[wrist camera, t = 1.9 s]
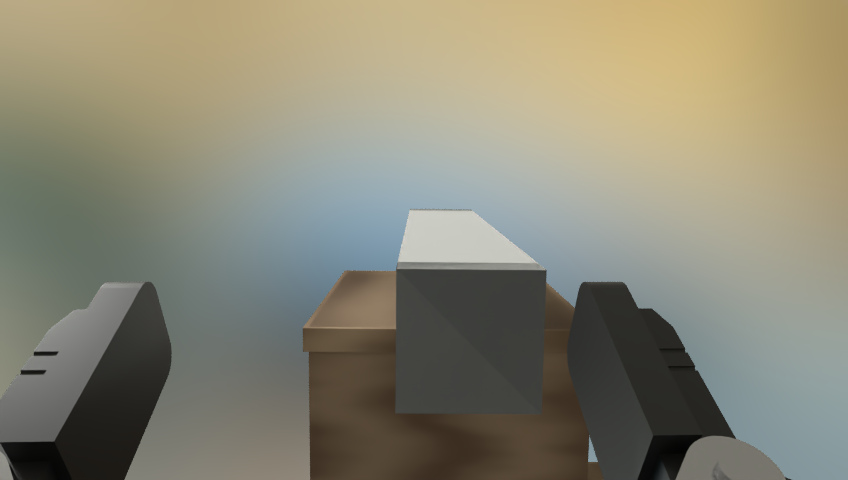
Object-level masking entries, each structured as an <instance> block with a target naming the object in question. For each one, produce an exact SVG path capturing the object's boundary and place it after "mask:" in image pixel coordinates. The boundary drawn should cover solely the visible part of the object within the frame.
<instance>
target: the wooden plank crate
mask: <svg viewBox="0 0 848 480" xmlns="http://www.w3.org/2000/svg"><path fill="white" fill-rule="evenodd" d="M574 310H575V308H574V307H573V306H572V305H571V304H570V303H569V302H567V301H566V300H565V299H564V298H563V297H562V296H561V295H560V294H559V293H557V292H556V291H555V290H554V289H553V288H552V287H551V286H549V284H547V283H546V300H545V329H544V358H543V387H542V414H417V413H395V399H396V271H344V273H343V274H342V276H341V277H340V278H339V279H338V281H337V282H336V284H335V285H334V286H333V288H332V289H331V290H330V292H329V293H328V295H327V296H326V297H325V299H324V300H323V301H322V303H321V304H320V305H319V307H318V308H317V310H316V311H315V312H314V314H313V315H312V316H311V318H310V319H309V320H308V322H307V323H306V325H305V326H304V327H303V351H305V352H309V407H310V480H604V479H603V475H602V472H601V469H600V466H599V463H598V462H588V449H589V432H588V429H587V426H586V423H585V420H584V417H583V413H582V410H581V407H580V404H579V401H578V398H577V395H576V392H575V389H574V385H573V382H572V379H571V376H570V373H569V368H568V360H567V345H568V339H569V334H570V329H571V325H572V320H573V315H574Z"/></svg>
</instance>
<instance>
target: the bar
mask: <svg viewBox="0 0 848 480" xmlns="http://www.w3.org/2000/svg"><path fill="white" fill-rule="evenodd" d="M545 300H546V269H544V268H543V267H542V266H541V265H539V264H538V263H537V262H536V261H534V260H533V259H532V258H531V257H529V256H528V255H527V254H526V253H524V252H523V251H522V250H521V249H519V248H518V247H517V246H516V245H514V244H513V243H512V242H511V241H509V240H508V239H507V238H506V237H504V236H503V235H502V234H501V233H499V232H498V231H497V230H496V229H494V228H493V227H492V226H491V225H489V224H488V223H487V222H486V221H484V220H483V219H482V218H481V217H479V216H478V215H477V214H476V213H474V212H473V211H472V210H452V209H410V212H409V217H408V221H407V225H406V229H405V233H404V238H403V242H402V246H401V250H400V255H399V259H398V263H397V268H396V399H395V413H417V414H542V387H543V358H544V329H545Z"/></svg>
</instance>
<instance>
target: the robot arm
mask: <svg viewBox="0 0 848 480" xmlns="http://www.w3.org/2000/svg"><path fill="white" fill-rule="evenodd" d="M567 360H568V368H569V373H570V376H571V379H572V382H573V385H574V389H575V392H576V395H577V398H578V401H579V404H580V407H581V410H582V413H583V417H584V420H585V423H586V426H587V429H588V432H589V435H590V438H591V441H592V444H593V447H594V451H595V454H596V457H597V460H598V463H599V466H600V469H601V472H602V475H603V479H604V480H791V479H788V478H785V477H784V475H783V474H782V472H781V471H780V469H779V468H778V467H777V465H776V464H775V463H774V462H773V461H772V460H771V459H770V458H769V457H767V456H766V455H765V454H764V453H762V452H761V451H759V450H758V449H756V448H755V447H753V446H751V445H749V444H747V443H745V442H742V441H740V440H737V439H736V438H735V436H734V435H733V433H732V431H731V429H730V428H729V426H728V424H727V422H726V420H725V418H724V417H723V415H722V413H721V411H720V410H719V408H718V406H717V404H716V402H715V401H714V399H713V397H712V395H711V394H710V392H709V390H708V388H707V386H706V385H705V383H704V381H703V379H702V378H701V376H700V374H699V372H698V371H695V365H694V363H693V362H692V360H691V358H690V356H689V355H688V353H685V347H684V346H683V344H682V342H681V340H680V339H679V337H678V335H677V333H676V331H675V330H674V328H673V327H672V326H671V325H670V324H669V323H668V322H667V321H666V320H664V319H663V318H662V317H661V316H660V315H659V314H657V313H656V312H655V311H654V310H653V309H638V307H637V305H636V303H635V302H634V299H633V298H632V295H631V293H630V292H629V290H628V288H627V286H626V285H625V284H624V283H623V282H583V283H582V284H581V286H580V288H579V292H578V297H577V301H576V306H575V310H574V315H573V320H572V325H571V329H570V334H569V339H568V345H567ZM170 366H171V343H170V339H169V336H168V332H167V328H166V325H165V321H164V317H163V314H162V310H161V306H160V303H159V299H158V296H157V292H156V289H155V287H154V285H153V284H152V283H151V282H106V283H104V284H103V286H102V287H101V288H100V289H99V291H98V293H97V294H96V296H95V297H94V299H93V300H92V302H91V303H90V305H89V306H88V308H87V309H86V310H74V311H73V312H71V313H70V314H69V315H67V316H66V317H65V318H63V319H62V320H61V321H59V322H58V323H57V324H55V325H54V326H53V327H52V328H50V329H49V331H48V332H47V333H46V335H45V336H44V338H43V339H42V340H41V342H40V343H39V345H38V346H37V348H36V349H35V350H34V356H30V358H29V359H28V360H27V362H26V363H25V365H24V366H23V367H22V369H21V374H20V375H17V376H16V377H15V379H14V380H13V382H12V383H11V385H10V386H9V388H8V389H7V390H6V392H5V393H4V395H3V396H2V398H1V399H0V480H124V479H125V477H126V474H127V472H128V470H129V467H130V465H131V462H132V460H133V458H134V455H135V453H136V451H137V448H138V446H139V444H140V441H141V439H142V436H143V434H144V432H145V429H146V427H147V425H148V422H149V420H150V418H151V415H152V413H153V410H154V408H155V406H156V403H157V401H158V399H159V396H160V394H161V391H162V389H163V387H164V384H165V382H166V379H167V377H168V374H169V371H170Z"/></svg>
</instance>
